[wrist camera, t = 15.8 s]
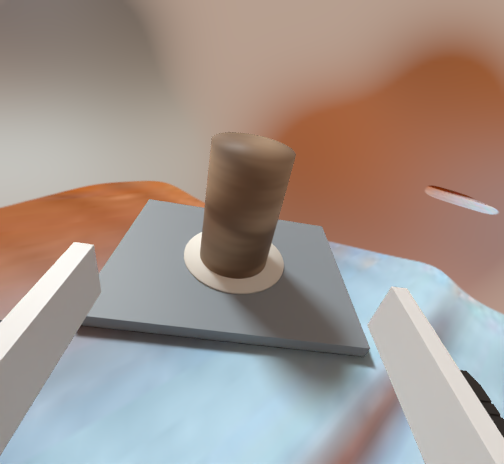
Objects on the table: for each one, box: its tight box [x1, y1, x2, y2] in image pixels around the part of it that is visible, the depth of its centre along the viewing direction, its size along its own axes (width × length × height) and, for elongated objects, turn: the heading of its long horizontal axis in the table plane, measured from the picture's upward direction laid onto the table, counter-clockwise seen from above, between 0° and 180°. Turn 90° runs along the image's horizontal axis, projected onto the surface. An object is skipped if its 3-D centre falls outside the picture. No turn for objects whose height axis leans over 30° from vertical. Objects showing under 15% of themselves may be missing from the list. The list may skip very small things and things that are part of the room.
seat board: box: [81, 199, 370, 357], centre depth 25 cm, size 20×16×1 cm
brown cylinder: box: [200, 132, 296, 279], centre depth 22 cm, size 6×6×10 cm
